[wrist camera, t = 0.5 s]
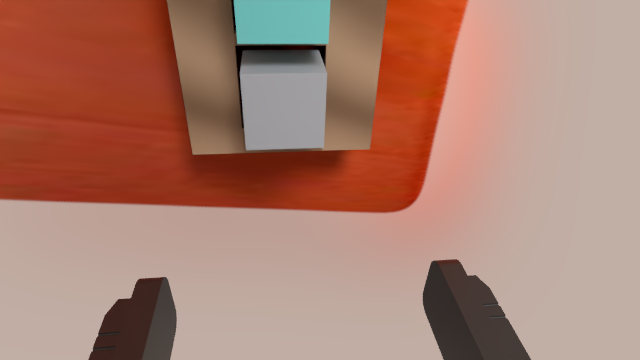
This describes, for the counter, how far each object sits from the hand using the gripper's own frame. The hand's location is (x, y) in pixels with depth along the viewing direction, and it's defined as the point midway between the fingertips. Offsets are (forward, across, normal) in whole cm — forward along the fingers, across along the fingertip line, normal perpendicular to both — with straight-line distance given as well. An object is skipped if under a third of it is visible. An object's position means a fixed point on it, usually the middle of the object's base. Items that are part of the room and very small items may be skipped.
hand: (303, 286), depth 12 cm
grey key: (+16, 0, 0) cm, 16 cm away
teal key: (+16, 0, -6) cm, 17 cm away
